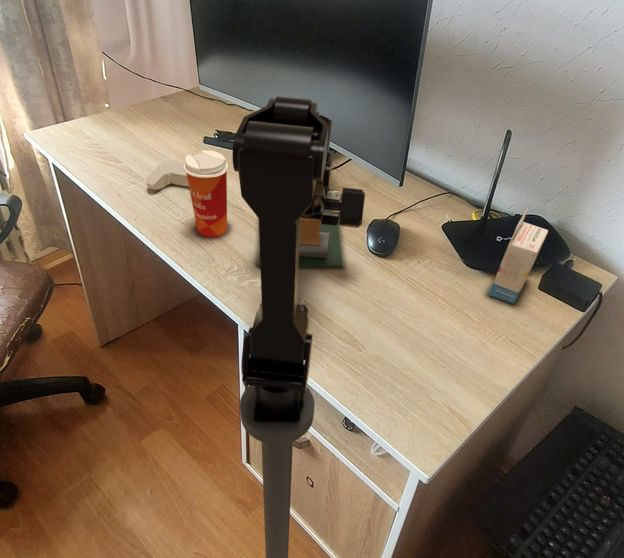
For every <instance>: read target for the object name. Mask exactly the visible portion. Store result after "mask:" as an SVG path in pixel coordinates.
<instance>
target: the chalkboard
mask: <svg viewBox="0 0 624 558" xmlns="http://www.w3.org/2000/svg"><path fill="white" fill-rule="evenodd" d="M300 226H301V218H300ZM339 228H340V227H339V223H338V224H337V225H336V226H333V225H324V224H321V232H324V233H330V235H329V247H328V253H327V258H316V257H305V256H299V266H298V268H322V269H344V267H343V266H344V264H343V255H342V254H343V253H342V245H341V238H340V229H339ZM258 259H259V260H258V266H259V267H260V257H259V258H258Z"/></svg>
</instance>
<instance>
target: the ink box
mask: <svg viewBox="0 0 624 558" xmlns="http://www.w3.org/2000/svg"><path fill="white" fill-rule="evenodd" d="M528 210H529V207H527V208H526V209H525V211H524V213H523V214H522V216H521V217H520V220H519V222H518V223H517V225H516V227H515V229H514V232H513V234H512V236H511V238H510V240H509V242H508V245H507V247H506V250H505V252H504V255H503V258H502V260H501V262H500V265H499V268H498V270H497V272H496V275H495V277H494V280H493V282H492V285H491V288H490V291H489V294H488V296H490V297H493V298H495V299H499V300H501V301H504V302H506V303H509V304H512V305H514V304H515V302H516V300H517V298H518V296H519V295H520V293H521V291H522V289H523V287H524V285H525V282H526V281H527V278H528V277H529V274H530V272H531V270H532V268H533V266H534V264H535V262H536V259H537V257H538V255H539V253H540V250H541V249H542V246H543V244H544V241H545V239H546V238H547V236H548V233H549V230H548V229H546V228H543V227H540V226H537V225H534V224H531V223H528V222H525V221H524V220H525V218H526V215H527V213H528Z"/></svg>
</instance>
